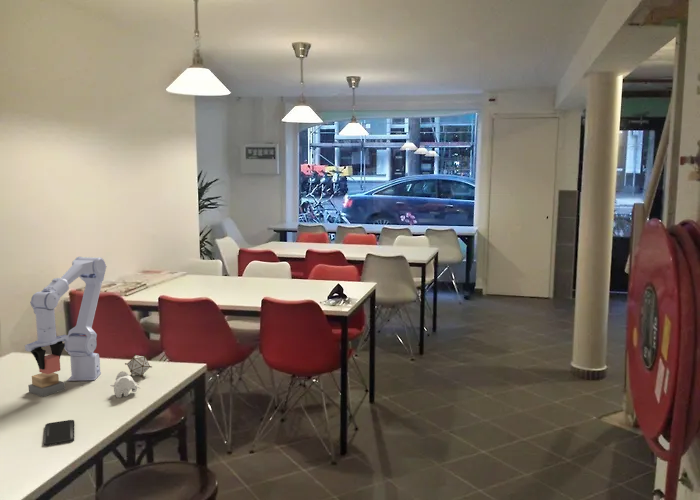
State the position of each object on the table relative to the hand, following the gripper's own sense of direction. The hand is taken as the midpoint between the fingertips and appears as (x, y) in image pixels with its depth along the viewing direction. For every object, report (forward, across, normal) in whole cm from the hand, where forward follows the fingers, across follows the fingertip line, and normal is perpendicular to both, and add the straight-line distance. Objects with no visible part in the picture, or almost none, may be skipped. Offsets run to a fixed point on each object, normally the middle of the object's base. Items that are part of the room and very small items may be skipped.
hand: (49, 366), depth 210 cm
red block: (+2, 0, 0) cm, 2 cm away
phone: (+10, -19, -32) cm, 38 cm away
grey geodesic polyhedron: (+10, +27, -12) cm, 31 cm away
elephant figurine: (+10, +12, -23) cm, 27 cm away
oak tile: (+7, +1, +4) cm, 8 cm away
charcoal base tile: (+10, +1, +3) cm, 10 cm away
